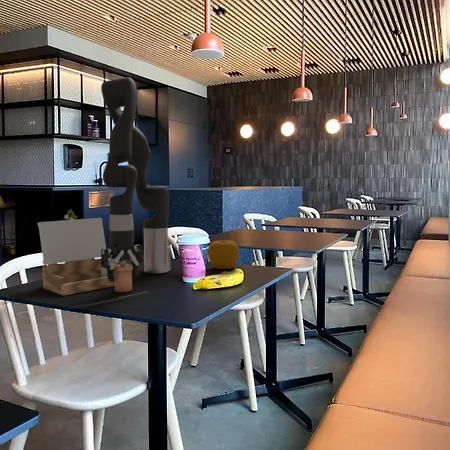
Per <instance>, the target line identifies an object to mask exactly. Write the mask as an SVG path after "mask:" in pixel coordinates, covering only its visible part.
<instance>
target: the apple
mask: <svg viewBox="0 0 450 450" xmlns="http://www.w3.org/2000/svg"><path fill="white" fill-rule="evenodd" d="M239 254H240V248H239V246H238V244H237V243H236V242H235V241H233V240H227V239H223V240H214V241H213V242H211V243H210V244H209V245H208V248H207V257H208V261H209V262H210V264H211V265H212V266H213V267H214V268H215V269H217V270H220V269H228V270H231V269H233V268H234V267H235V266H236V265H237V263H238V260H239V257H240V255H239Z"/></svg>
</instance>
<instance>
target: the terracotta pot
mask: <svg viewBox="0 0 450 450" xmlns="http://www.w3.org/2000/svg"><path fill="white" fill-rule="evenodd" d="M127 261H128V260H123V261H118V263H117V264H116V265H115V266H114V268H113V269H114V272H115V286H114V291H115V292H118V293H125V292H126V293H127V292H131V291H132V290H133V277H132V270H133V265H132V264H130V263H129V264H128V262H127Z"/></svg>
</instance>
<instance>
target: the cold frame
mask: <svg viewBox="0 0 450 450" xmlns="http://www.w3.org/2000/svg"><path fill="white" fill-rule="evenodd" d="M108 262H109V261H108ZM41 271H42V287H43V288H42V289H44V290H47V291H50V292H53V293H55V294H57V295H61V296H68V295H73V294H78V293H83V292H84V293H85V292H90V291H95V290H101V289H105V288H111V287H115V276H114V281H109V279H108V278H107V277H103V278H101V257H99V258H92V259H86V260H85V261H78V262H70V263H65V262H62V263H55V264H47V265H42V269H41Z"/></svg>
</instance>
